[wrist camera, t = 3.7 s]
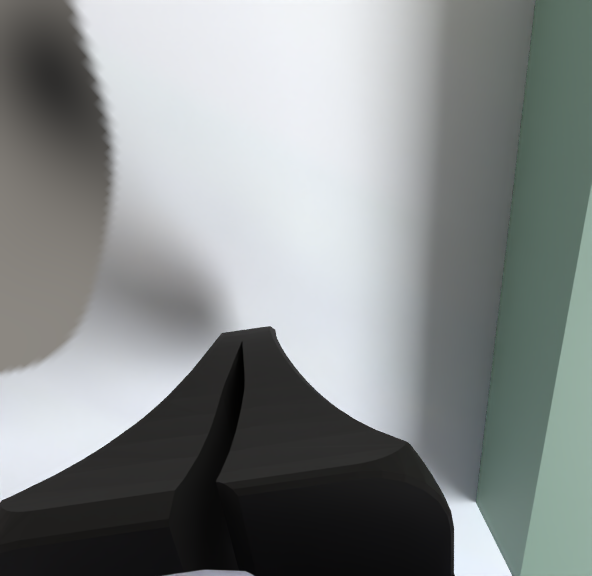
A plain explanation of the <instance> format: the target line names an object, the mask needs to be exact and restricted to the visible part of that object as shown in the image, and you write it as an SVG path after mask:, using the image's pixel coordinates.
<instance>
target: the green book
mask: <svg viewBox="0 0 592 576" xmlns="http://www.w3.org/2000/svg"><path fill="white" fill-rule="evenodd" d="M476 504H477V506H478V508H479V510H480V512H481V514H482V516H483V518H484V520H485V522H486V524H487V526H488V528H489V530H490V532H491V534H492V536H493V538H494V540H495V542H496V544H497V546H498V548H499V550H500V552H501V554H502V556H503V558H504V560H505V562H506V564H507V566H508V568H509V570H510V572H511V574H512V576H592V0H536V1H535V9H534V18H533V26H532V34H531V43H530V51H529V60H528V68H527V76H526V85H525V93H524V102H523V110H522V119H521V127H520V135H519V144H518V152H517V161H516V169H515V177H514V186H513V194H512V203H511V211H510V220H509V228H508V236H507V245H506V253H505V262H504V270H503V278H502V287H501V295H500V304H499V312H498V321H497V329H496V337H495V346H494V354H493V363H492V371H491V379H490V388H489V396H488V405H487V413H486V422H485V430H484V438H483V447H482V455H481V464H480V472H479V480H478V489H477V497H476Z"/></svg>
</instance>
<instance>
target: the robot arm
mask: <svg viewBox="0 0 592 576" xmlns="http://www.w3.org/2000/svg"><path fill="white" fill-rule="evenodd" d="M0 576H455V575H454V526H453V520H452V515H451V510H450V508H449V506H448V504H447V501H446V499H445V497H444V495H443V493H442V491H441V489H440V488H439V486H438V484H437V483H436V481H435V479H434V478H433V476H432V474H431V473H430V471H429V470H428V468H427V467H426V465H425V464H424V462H423V461H422V460H421V458H420V457H419V455H418V454H417V453H416V451H415V450H414V449H413V447H412V446H411V445H410V444H409V443H408V442H406V441H403V440H401V439H398V438H395V437H393V436H390V435H388V434H385V433H383V432H380V431H377V430H375V429H373V428H371V427H369V426H367V425H365V424H363V423H361V422H359V421H357V420H355V419H353V418H352V417H350V416H349V415H347V414H346V413H344V412H343V411H341V410H339V409H338V408H336V407H335V406H334V405H333V404H331V403H330V402H329V401H328V400H326V399H325V398H324V397H323V396H322V395H321V394H319V393H318V392H317V391H316V390H315V389H314V388H313V387H312V386H311V385H310V384H309V383H308V382H307V381H306V380H305V379H304V377H303V376H302V375H301V374H300V373H299V372H298V370H297V369H296V368H295V367H294V365H293V364H292V363H291V361H290V360H289V358H288V357H287V356H286V354H285V353H284V351H283V349H282V347H281V346H280V344H279V342H278V340H277V337H276V332H275V329H273V328H272V327H270V326H268V327H261V328H254V329H247V330H240V331H233V332H226V333H222V334H221V335H220V336H219V337H218V338H217V340H216V341H215V342H214V343H213V345H212V346H211V347H210V349H209V350H208V351H207V352H206V354H205V355H204V356H203V357H202V359H201V360H200V361H199V362H198V364H197V365H196V366H195V367H194V368H193V370H192V371H191V372H190V373H189V374H188V375H187V376H186V377H185V378H184V380H183V381H182V382H181V383H180V384H179V385H178V386H177V387H176V388H175V389H174V390H173V391H172V392H171V393H170V394H169V395H168V396H167V397H166V398H165V399H164V400H163V401H162V402H161V403H160V404H159V405H158V406H157V407H155V408H154V409H153V410H152V411H151V412H149V413H148V414H147V415H146V416H145V417H144V418H142V419H141V420H140V421H139V422H137V423H136V424H135V425H133V426H132V427H131V428H129V429H128V430H126V431H125V432H124V433H122V434H121V435H119V436H118V437H117V438H115V439H114V440H112V441H111V442H110V443H108V444H107V445H105V446H104V447H102V448H101V449H99V450H97V451H96V452H94V453H93V454H91V455H89V456H88V457H86V458H85V459H83V460H81V461H79V462H78V463H76V464H74V465H72V466H71V467H69V468H67V469H65V470H63V471H62V472H60V473H58V474H56V475H54V476H52V477H50V478H48V479H46V480H44V481H42V482H40V483H38V484H36V485H34V486H32V487H30V488H28V489H26V490H24V491H21V492H19V493H17V494H15V495H13V496H11V497H9V498H7V499H4V500H2V501H1V503H0Z"/></svg>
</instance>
